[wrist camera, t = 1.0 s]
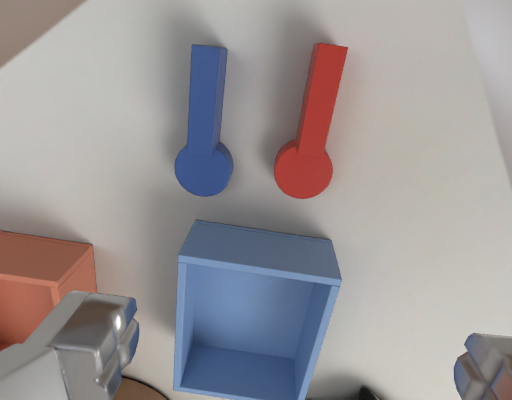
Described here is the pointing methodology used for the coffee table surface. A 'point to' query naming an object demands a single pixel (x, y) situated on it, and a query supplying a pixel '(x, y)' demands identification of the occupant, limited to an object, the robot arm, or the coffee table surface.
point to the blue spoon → (205, 126)
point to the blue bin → (251, 311)
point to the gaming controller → (366, 395)
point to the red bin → (38, 280)
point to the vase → (136, 391)
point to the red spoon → (312, 128)
